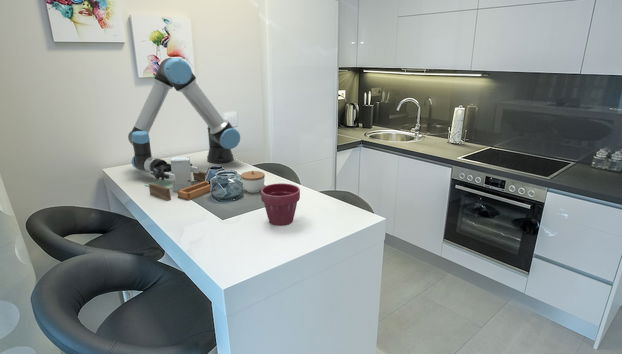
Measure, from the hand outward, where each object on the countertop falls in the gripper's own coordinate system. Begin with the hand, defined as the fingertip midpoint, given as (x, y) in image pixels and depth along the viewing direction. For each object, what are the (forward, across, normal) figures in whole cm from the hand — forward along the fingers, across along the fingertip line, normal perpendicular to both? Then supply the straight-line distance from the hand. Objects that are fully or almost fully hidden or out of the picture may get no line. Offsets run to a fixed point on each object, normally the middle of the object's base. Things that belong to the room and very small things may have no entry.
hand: (186, 174), depth 157 cm
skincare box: (-4, 0, -8) cm, 9 cm away
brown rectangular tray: (+6, 0, -8) cm, 10 cm away
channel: (-4, 0, -8) cm, 9 cm away
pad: (-16, 0, -8) cm, 18 cm away
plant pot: (+54, +2, -8) cm, 55 cm away
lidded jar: (+24, -17, -8) cm, 31 cm away
